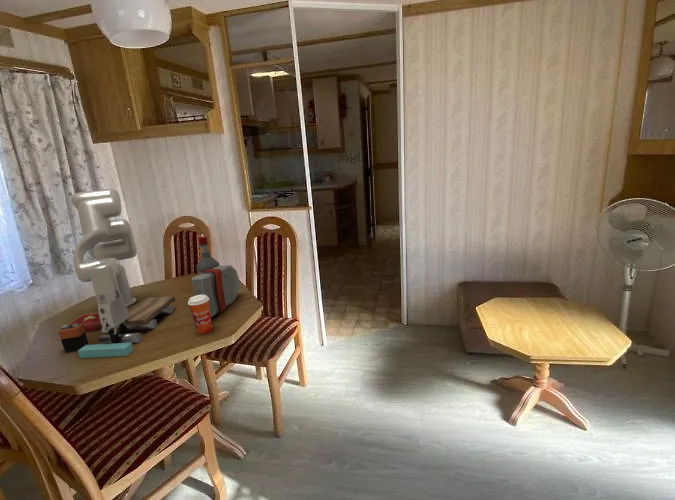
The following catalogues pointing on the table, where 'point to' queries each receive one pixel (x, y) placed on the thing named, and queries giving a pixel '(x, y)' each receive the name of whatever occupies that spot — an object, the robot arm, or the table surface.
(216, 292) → the decorative stone tablet
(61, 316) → the table surface
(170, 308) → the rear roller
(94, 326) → the hardcover book
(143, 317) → the walnut slab
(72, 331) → the battery
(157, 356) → the table surface
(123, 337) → the roller
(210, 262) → the liquor
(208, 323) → the paper cup
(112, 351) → the block
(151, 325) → the front roller
